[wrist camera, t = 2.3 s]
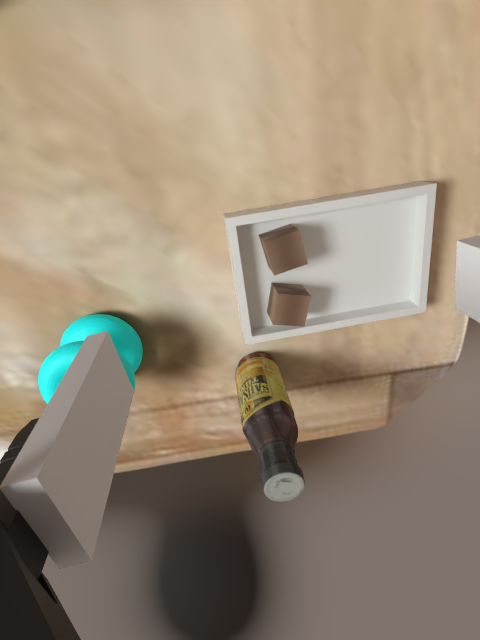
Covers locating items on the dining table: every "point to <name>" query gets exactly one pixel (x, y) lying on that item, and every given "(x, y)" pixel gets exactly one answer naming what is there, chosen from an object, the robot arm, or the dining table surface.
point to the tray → (338, 258)
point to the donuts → (72, 341)
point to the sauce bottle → (269, 425)
